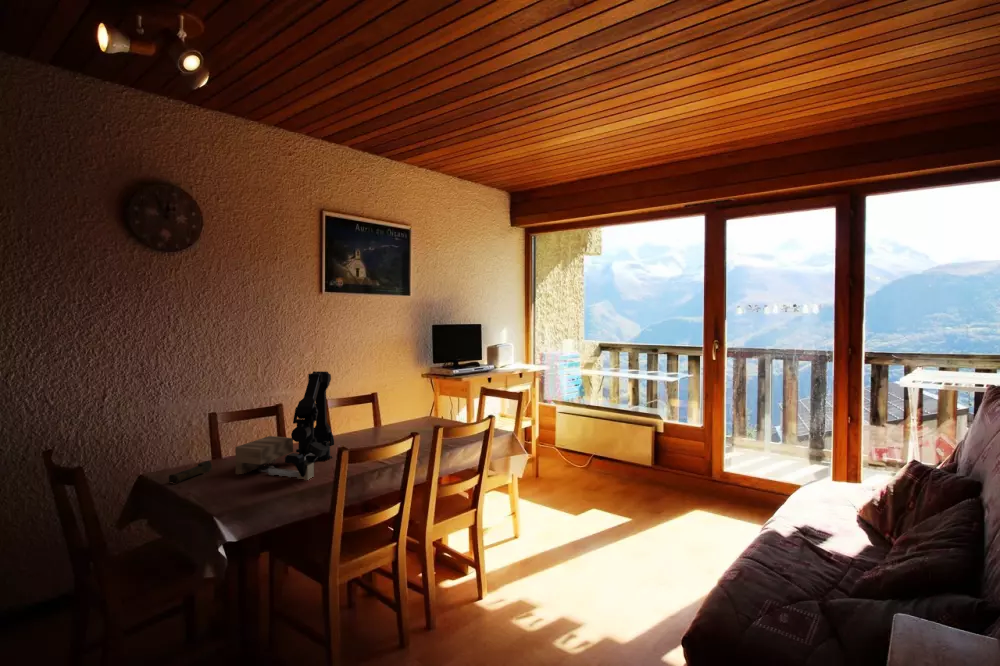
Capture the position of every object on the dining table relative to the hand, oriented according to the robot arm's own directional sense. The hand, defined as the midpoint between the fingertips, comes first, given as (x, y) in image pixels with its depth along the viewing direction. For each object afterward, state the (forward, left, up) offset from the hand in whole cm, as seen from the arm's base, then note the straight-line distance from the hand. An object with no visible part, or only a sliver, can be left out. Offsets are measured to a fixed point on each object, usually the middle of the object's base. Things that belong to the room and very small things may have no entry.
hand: (306, 475), depth 212 cm
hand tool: (+12, -44, -2) cm, 45 cm away
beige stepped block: (-6, -24, -1) cm, 25 cm away
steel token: (-4, -22, -2) cm, 22 cm away
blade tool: (0, -8, -1) cm, 8 cm away
